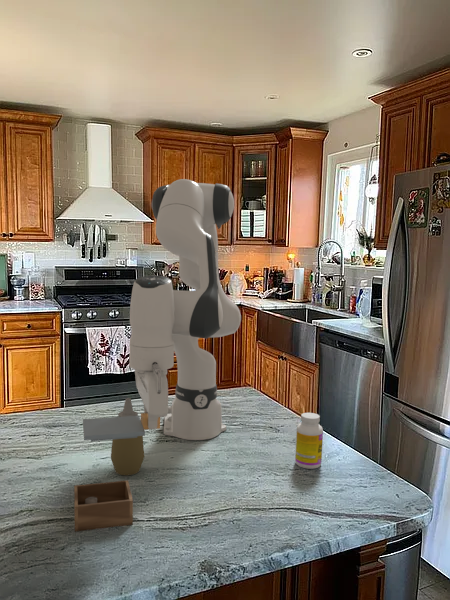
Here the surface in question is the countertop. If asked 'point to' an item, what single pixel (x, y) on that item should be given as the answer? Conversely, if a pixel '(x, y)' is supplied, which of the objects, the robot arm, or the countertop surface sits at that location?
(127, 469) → the squeeze bottle
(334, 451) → the countertop surface
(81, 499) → the walnut box
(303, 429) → the supplement bottle
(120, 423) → the lid
